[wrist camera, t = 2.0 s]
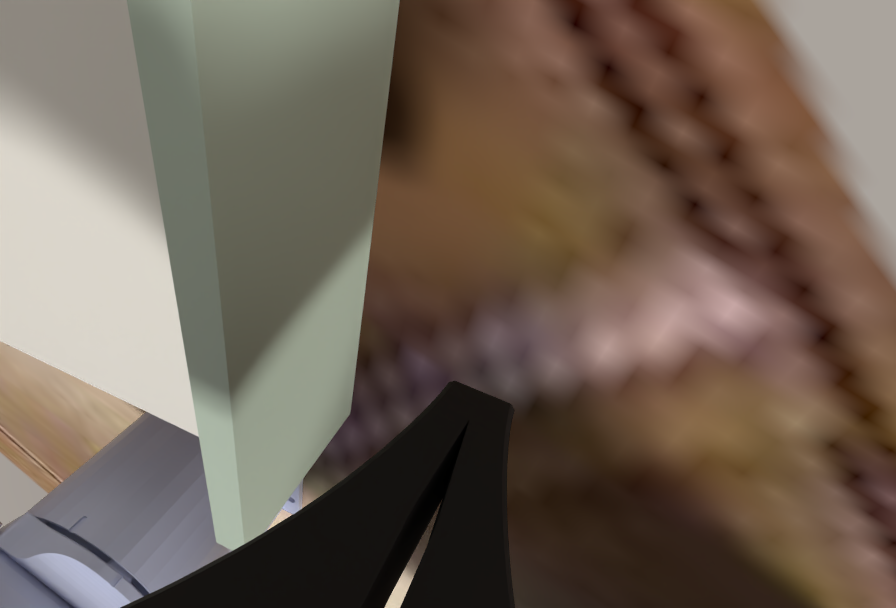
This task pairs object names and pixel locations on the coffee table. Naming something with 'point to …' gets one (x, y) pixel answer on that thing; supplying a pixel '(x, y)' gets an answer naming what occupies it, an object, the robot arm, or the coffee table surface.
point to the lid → (197, 217)
